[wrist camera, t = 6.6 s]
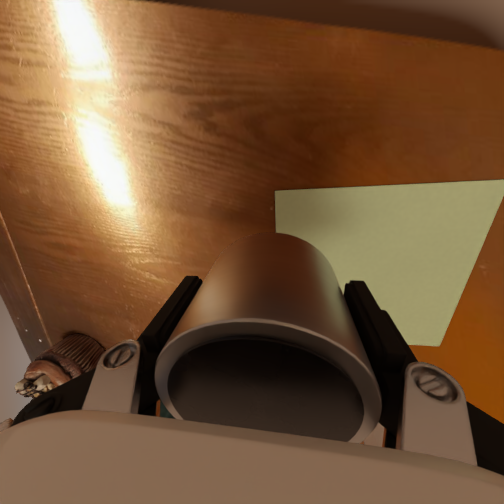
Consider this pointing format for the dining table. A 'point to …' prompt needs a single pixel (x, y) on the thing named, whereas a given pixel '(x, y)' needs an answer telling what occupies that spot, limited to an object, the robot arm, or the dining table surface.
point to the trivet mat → (398, 243)
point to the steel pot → (271, 347)
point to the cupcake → (60, 365)
